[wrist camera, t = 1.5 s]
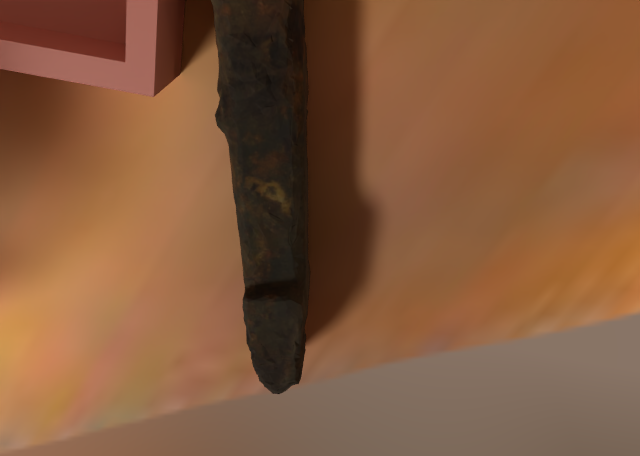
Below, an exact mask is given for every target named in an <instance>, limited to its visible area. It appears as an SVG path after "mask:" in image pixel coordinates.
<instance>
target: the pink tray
mask: <svg viewBox="0 0 640 456" xmlns="http://www.w3.org/2000/svg"><path fill="white" fill-rule="evenodd" d="M184 10H185V0H0V69H4V70H9V71H15V72H20V73H26V74H31V75H37V76H42V77H48V78H53V79H59V80H64V81H70V82H75V83H81V84H86V85H91V86H97V87H102V88H108V89H113V90H119V91H124V92H130V93H135V94H141V95H146V96H152V97H154V96H155V95H156V94H158V93H159V92H160V91H161V90H162V89H164V88H165V87H166V86H167V85H168V84H169V83H171V82H172V81H173V80H174V79H175V78H176V77H178V76H179V75H180V73H181V58H182V42H183V26H184Z"/></svg>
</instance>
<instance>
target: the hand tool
mask: <svg viewBox="0 0 640 456" xmlns="http://www.w3.org/2000/svg"><path fill="white" fill-rule="evenodd" d="M211 2H212V5H213V10H214V25H215V31H216V44H217V48H218V57H219V78H218V87H217V91H218V93H219V96H220V101H219V106H218V108H217V111H216V114H215V117H216V122H217V126H218V127H219V128H220V129H221V131H222V132H223V133H224V134H225V136H226V139H227V142H228V144H229V153H230V163H231V171H232V184H233V193H234V200H235V204H236V214H237V223H238V230H239V236H240V245H241V255H242V264H243V276H244V283H245V293H244V297H243V311H244V322H245V325H246V335H247V344H248V347H249V350H250V351H251V359H252V363H253V367H254V369H255V371H256V374H257V375H258V377H259V381H260V382H261V383H263V384H264V387H266V388H267V389H268V390H269V391H271V392H272V393H273V394H280V393H283V392H284V391H286V390H287V389H288V388H290V387H291V386H292V385H295V384H299V382H300V379H301V375H302V368H303V361H304V354H305V341H306V334H305V329H304V327H305V322H306V318H307V313H308V297H309V283H310V267H309V261H308V162H307V141H306V136H307V126H306V119H307V114H308V110H307V101H308V71H307V52H306V43H305V39H304V38H305V24H304V0H211Z"/></svg>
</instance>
